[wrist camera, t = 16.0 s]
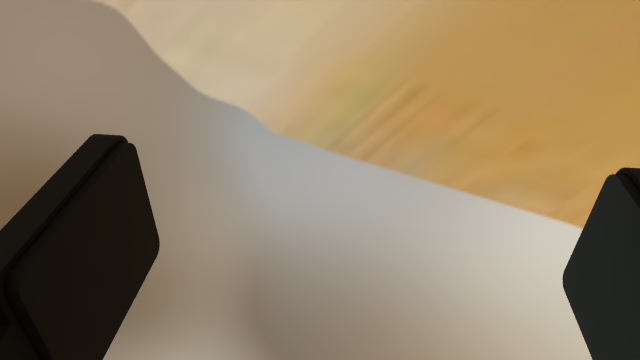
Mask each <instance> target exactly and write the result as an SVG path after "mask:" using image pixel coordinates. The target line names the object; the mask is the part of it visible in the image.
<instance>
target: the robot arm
mask: <svg viewBox="0 0 640 360" xmlns="http://www.w3.org/2000/svg"><path fill="white" fill-rule="evenodd" d="M158 251H159V236H158V233H157V229H156V225H155V221H154V217H153V213H152V209H151V205H150V201H149V197H148V193H147V189H146V186H145V181H144V178H143V174H142V170H141V166H140V162H139V158H138V154H137V150H136V147H135V146H134V145H133V144H132V143H128V141H127V139H126V138H125V137H123V136H120V135H119V136H118V135H103V134H94V135H92V136H90V137H89V138H88V139H87V141H85V142H84V144H83V145H82V146H81V147H80V148H79V149H78V150H77V151H76V152H75V153H74V154H73V155H72V156H71V157H70V158H69V159H68V160H67V161H66V162H65V163H64V165H63V166H62V167H61V168H60V169H59V170H58V171H57V172H56V173H55V174H54V175H53V176H52V177H51V178H50V179H49V180H48V181H47V182H46V183H45V184H44V186H42V187H41V189H40V190H39V191H38V192H37V193H36V194H35V195H34V196H33V197H32V198H31V199H30V200H29V201H28V202H27V203H26V204H25V205H24V206H23V207H22V209H20V211H19V212H18V213H17V214H16V215H15V216H14V217H13V218H12V219H11V220H10V221H9V222H8V223H7V224H6V225H5V226H4V227H3V228H2V229H1V230H0V360H103V358H104V356H105V354H106V352H107V350H108V348H109V347H110V344H111V343H112V341H113V339H114V337H115V335H116V333H117V331H118V329H119V328H120V326H121V324H122V322H123V320H124V318H125V316H126V314H127V312H128V310H129V308H130V306H131V305H132V303H133V301H134V299H135V297H136V295H137V293H138V291H139V289H140V288H141V286H142V284H143V282H144V280H145V278H146V276H147V274H148V272H149V270H150V268H151V267H152V265H153V263H154V261H155V259H156V257H157V255H158ZM563 287H564V290H565V293H566V296H567V298H568V300H569V303H570V305H571V308H572V310H573V313H574V315H575V318H576V320H577V322H578V325H579V327H580V330H581V332H582V335H583V337H584V340H585V342H586V344H587V347H588V349H589V352H590V354H591V357H592V359H593V360H640V169H639V168H622V169H620V170H619V171H618V172H617V173H616V174H612V175H609V176H608V177H607V179H606V180H605V182H604V184H603V187H602V189H601V191H600V193H599V195H598V198H597V200H596V202H595V204H594V206H593V209H592V211H591V213H590V215H589V217H588V220H587V222H586V224H585V226H584V228H583V231H582V233H581V235H580V237H579V240H578V242H577V244H576V246H575V248H574V250H573V253H572V255H571V257H570V259H569V261H568V264H567V266H566V268H565V270H564V274H563Z"/></svg>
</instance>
